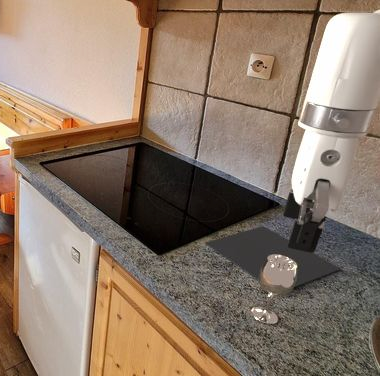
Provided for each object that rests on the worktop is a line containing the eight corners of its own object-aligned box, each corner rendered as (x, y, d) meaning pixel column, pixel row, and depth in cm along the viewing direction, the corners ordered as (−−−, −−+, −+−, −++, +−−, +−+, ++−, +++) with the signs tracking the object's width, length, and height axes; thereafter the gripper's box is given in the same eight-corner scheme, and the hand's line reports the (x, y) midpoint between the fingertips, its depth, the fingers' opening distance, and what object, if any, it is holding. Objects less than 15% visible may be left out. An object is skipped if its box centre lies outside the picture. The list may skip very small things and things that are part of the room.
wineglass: (255, 300, 79) (271, 248, 74) (287, 316, 75) (306, 263, 70) (242, 313, 75) (258, 260, 70) (274, 331, 72) (293, 276, 66)
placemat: (340, 270, 89) (341, 268, 89) (279, 294, 81) (279, 292, 81) (262, 227, 105) (262, 225, 105) (204, 243, 97) (205, 242, 97)
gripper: (389, 141, 43) (337, 272, 50) (355, 106, 57) (318, 212, 65) (308, 131, 46) (270, 256, 53) (295, 100, 60) (266, 203, 67)
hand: (296, 232), depth 59 cm, fingers open, 9 cm apart
